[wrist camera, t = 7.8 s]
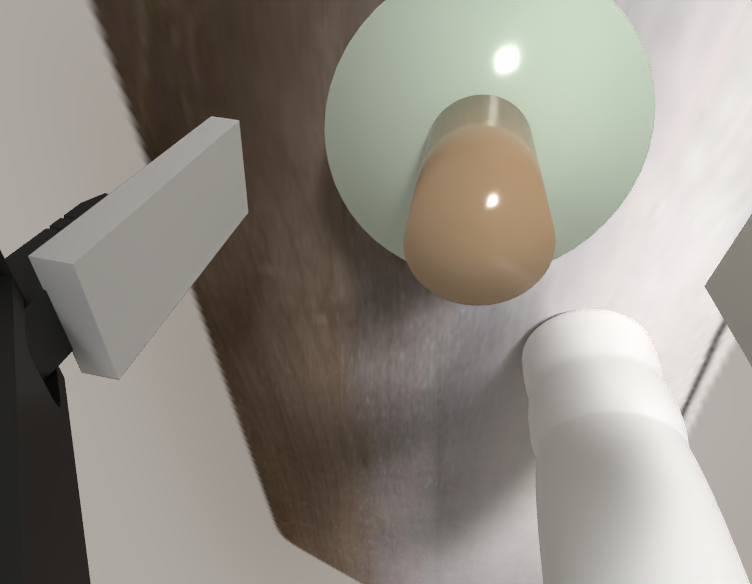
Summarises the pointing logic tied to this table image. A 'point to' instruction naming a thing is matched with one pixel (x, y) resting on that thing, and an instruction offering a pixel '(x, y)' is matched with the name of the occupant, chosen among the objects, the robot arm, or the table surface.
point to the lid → (488, 134)
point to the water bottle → (616, 462)
